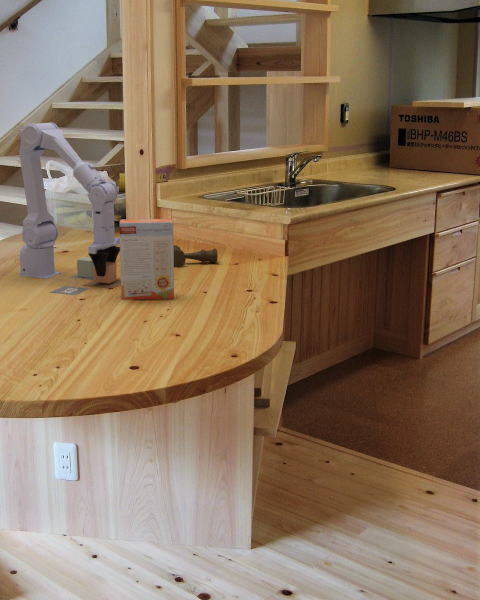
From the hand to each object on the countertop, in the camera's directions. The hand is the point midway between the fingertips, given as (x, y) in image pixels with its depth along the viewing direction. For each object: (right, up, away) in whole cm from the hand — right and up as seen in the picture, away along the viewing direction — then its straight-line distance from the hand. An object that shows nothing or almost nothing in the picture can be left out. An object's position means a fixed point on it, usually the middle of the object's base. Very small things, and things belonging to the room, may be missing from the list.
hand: (105, 274), depth 224 cm
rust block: (0, -2, 0) cm, 2 cm away
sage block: (-7, 0, +9) cm, 11 cm away
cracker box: (+13, -7, -12) cm, 19 cm away
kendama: (+21, +4, +28) cm, 35 cm away
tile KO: (-8, -5, -8) cm, 12 cm away
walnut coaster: (0, -3, +1) cm, 3 cm away
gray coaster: (-7, 0, +9) cm, 11 cm away
